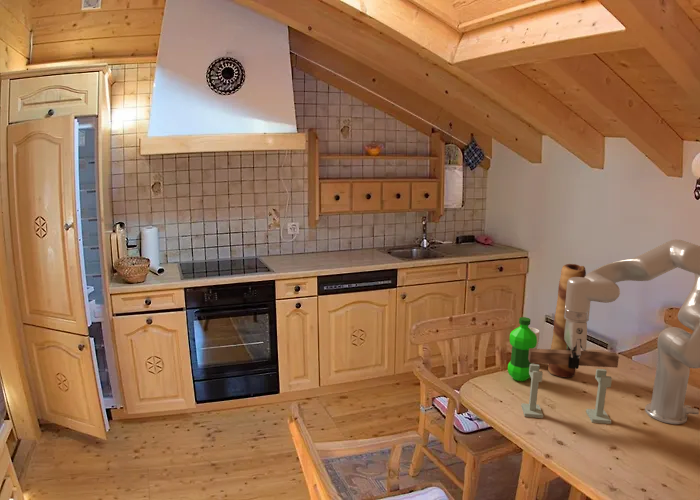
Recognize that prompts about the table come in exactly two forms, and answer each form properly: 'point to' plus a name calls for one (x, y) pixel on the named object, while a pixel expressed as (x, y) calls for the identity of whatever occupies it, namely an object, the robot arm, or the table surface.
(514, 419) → the table surface
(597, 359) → the walnut rail
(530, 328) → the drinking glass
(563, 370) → the wafer roll
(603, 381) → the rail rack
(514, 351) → the plastic bottle
